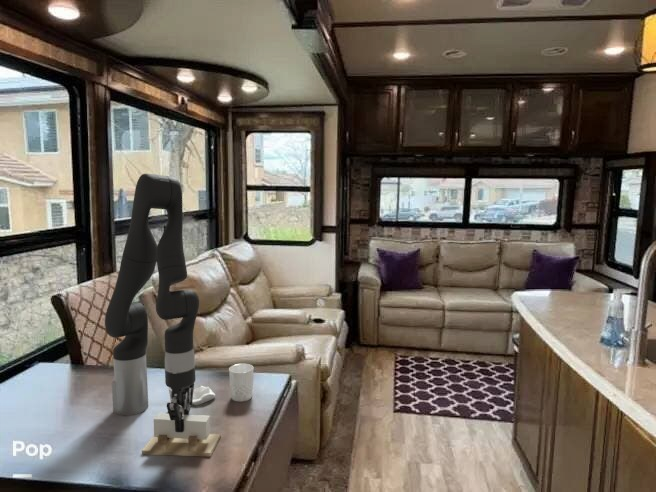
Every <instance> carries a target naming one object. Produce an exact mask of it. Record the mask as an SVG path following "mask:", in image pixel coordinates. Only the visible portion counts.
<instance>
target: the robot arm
mask: <svg viewBox="0 0 656 492" xmlns="http://www.w3.org/2000/svg"><path fill="white" fill-rule="evenodd" d="M181 185H182V184H181V182H180V181H179V179H178V178H176V177H174V176H169V175H163V174H154V173H143V174H141V175H140V176H139V177H138V179H137V182H136V185H135V189H134V195H133V201H132V209H131V216H130V217H131V218H130V222H129V223H130V224H129V228H128V233H127V236H126V241H125V245H124V248H123V252H122V256H121V260H120V266H119V271H118V275H117V278H116V282H115V286H114V289H113V292H112V296H111V298H110V301H109V304H108V305H107V309H106V311H105V316H104V328H105V331H106V334H108V336H110V337H112V338H115V339H116V338H122V337H124V338H122V340H121V341H120V342H118V343H117V345H115V346H114V348H113V349H112V358H113V359H112V360H113V377H114V379H113V381H112V383H111V394H112V395H111V396H112V412H113V413H115V414H117V415H121V416H133V415H137V414H140V413H142V412H145V411H146V410H147V409H148V408H149V393H148V391H149V390H148V389H149V388H148V369H147V366H148V365H147V347H148V343H149V336H148V335H149V332H148V331H149V318H148V317H149V316H148V312H147V309H146V307H145V306H144V304H142V303H140V302H139V301H138V302H137V301H134V299H135V297H136V296H137V294H138V293H140V291H141V290H142V289H143V287H144V286H145V285H146V284H147V283H148V281H149V280H150V279H151V277H152V276H153V274H154V272H155V269H156V267H157V272H158V291H157V295H156V301H155V312H156V315H157V316H158V317H159V319H161V320H163V321H164V320H165V321H169V320H174V319H181V321H180V322H178V323H176V324H174V325H172V326H169V327H168V328H166V329H165V331H164V353H165V354H164V378H165V379H164V384H165V385H166V387H168V388H169V387H170V388H171V389H172V392H171V399H172V401H171V400H170V402H167V403H166V409H167V412H168V413H167V414H169V416H170V420H175V431H176V432H183V431H184V415H190V409H191V406H193V404H192V400H193V390H194V388H195V383H196V357H195V349H194V331H195V330H194V329H195V323H196V319H197V316H198V313H199V308H200V297H199V295H198V294H197V292H196V291H195V290H193V289H182V290H172V291H171V290H170V289H171V286H173V285H175V284H178V283H181V282H183V281H186V280H187V278H188V270H187V264H186V257H185V252H184V243H183V240H184V239H183V229H184V228H183V222H184V221H183V220H184V219H183V218H184V216H183V191H182V186H181ZM151 209H153V210H166V215H167V223H166V227H165V228H164V231H163V233H162V235H161V237H160V238H159V241H158V243H157V242H156V240H155V237H154V235H153V233H152V230H151V228H150V224H149V217H150V216H149V215H150V211H151Z"/></svg>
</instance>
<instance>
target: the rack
mask: <svg viewBox="0 0 656 492" xmlns="http://www.w3.org/2000/svg"><path fill="white" fill-rule="evenodd" d="M221 438H222V435H221V433H210V434H209V436H208V438H207V440H202V439H197V436H189V437H188V439H183V438H167V435H160V434H159V436H158V437H154V435H153V436H151V438H150V440H149V441H148V442H147V443H146V445H145V446H143V448H142V450H141V454H142V455H158V456H159V455H161V456H181V457H182V456H183V457H188V456H189V457H211V456H212V455H213V453H214V451H215V449H216V447H217V446H218V444H219V442H220V439H221Z"/></svg>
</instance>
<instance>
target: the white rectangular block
mask: <svg viewBox="0 0 656 492" xmlns="http://www.w3.org/2000/svg"><path fill="white" fill-rule="evenodd" d="M159 434H160V435H167V438H183V439H188V437H189V436H197V439H202V440H207V438H208V436H209V434H211V415H203V414H202V415H201V414H200V415H199V414H189V415H184V431H183V432H176V431H175V420H170V416H169V413H164V412H158V413H157V414H156V416H155V417H154V418H153V436H154V437H158V436H159Z"/></svg>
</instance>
